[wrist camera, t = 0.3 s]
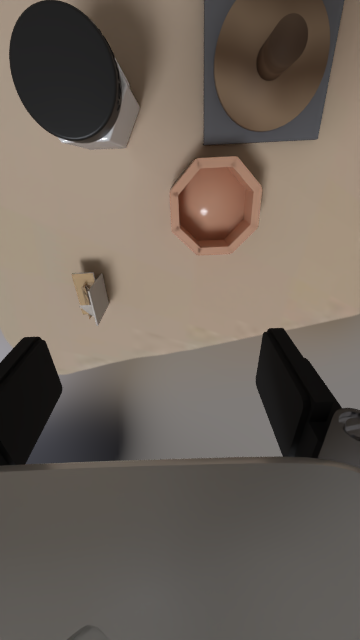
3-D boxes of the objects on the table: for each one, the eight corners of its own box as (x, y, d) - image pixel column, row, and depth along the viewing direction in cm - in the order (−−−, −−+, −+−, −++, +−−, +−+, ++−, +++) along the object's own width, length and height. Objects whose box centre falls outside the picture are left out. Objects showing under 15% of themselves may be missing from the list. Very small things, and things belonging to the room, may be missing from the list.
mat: (204, -29, 25) (205, -34, 24) (348, -37, 25) (352, -42, 24) (203, 145, 32) (204, 144, 31) (315, 139, 32) (317, 139, 31)
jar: (152, 126, 31) (141, 104, 20) (101, 167, 33) (67, 166, 23) (104, 36, 27) (59, -47, 17) (49, 90, 29) (-21, 46, 19)
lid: (215, -18, 25) (225, -67, 20) (338, -25, 25) (382, -77, 19) (212, 134, 31) (219, 127, 26) (311, 129, 31) (338, 121, 26)
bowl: (168, 161, 33) (167, 159, 28) (254, 156, 32) (266, 154, 28) (173, 246, 38) (173, 256, 34) (246, 243, 38) (255, 252, 34)
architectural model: (90, 304, 44) (75, 328, 37) (79, 265, 40) (61, 284, 34) (109, 303, 43) (98, 326, 37) (101, 264, 40) (87, 282, 34)
